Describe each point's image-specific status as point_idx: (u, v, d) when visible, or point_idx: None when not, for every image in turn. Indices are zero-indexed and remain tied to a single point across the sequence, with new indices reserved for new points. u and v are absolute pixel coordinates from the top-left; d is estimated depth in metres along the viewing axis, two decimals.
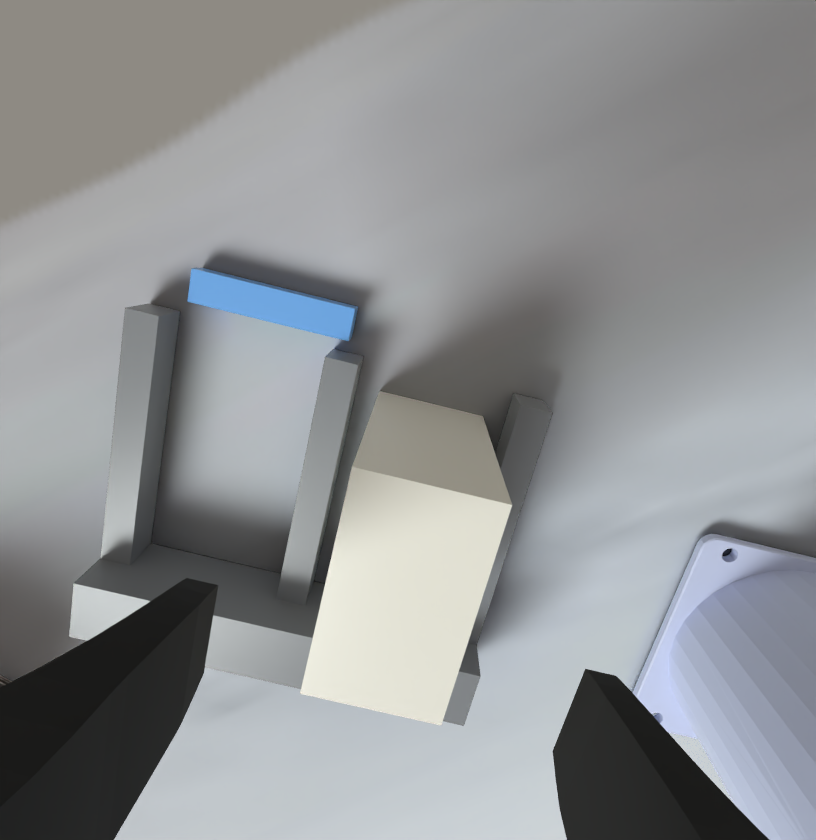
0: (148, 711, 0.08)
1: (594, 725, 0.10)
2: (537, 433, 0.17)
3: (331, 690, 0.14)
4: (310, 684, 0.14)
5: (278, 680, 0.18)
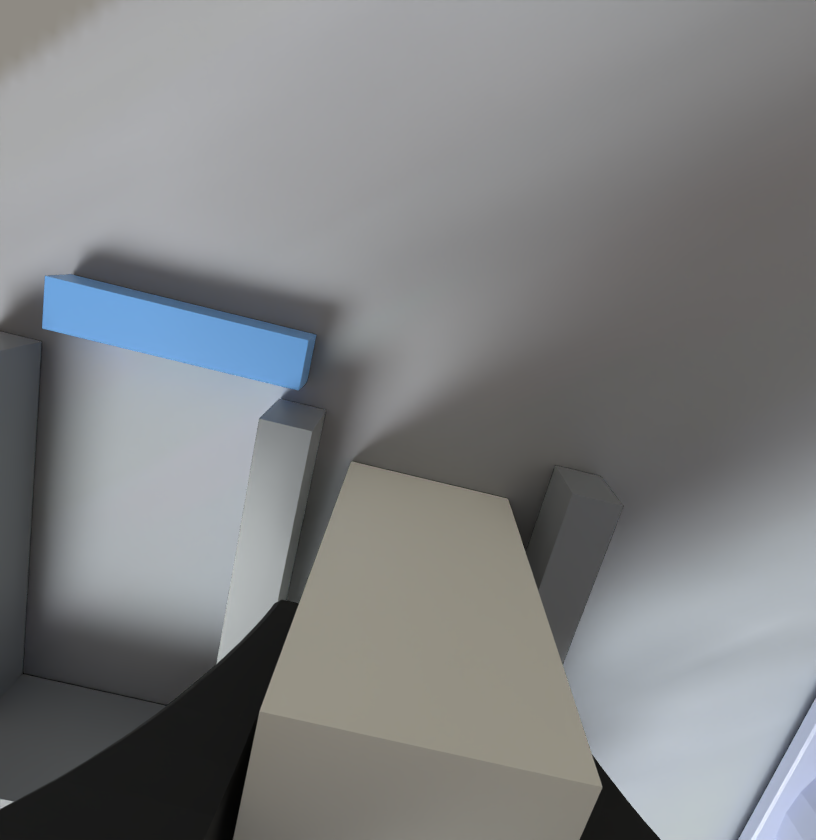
0: None
1: None
2: (598, 536, 0.11)
3: None
4: None
5: None
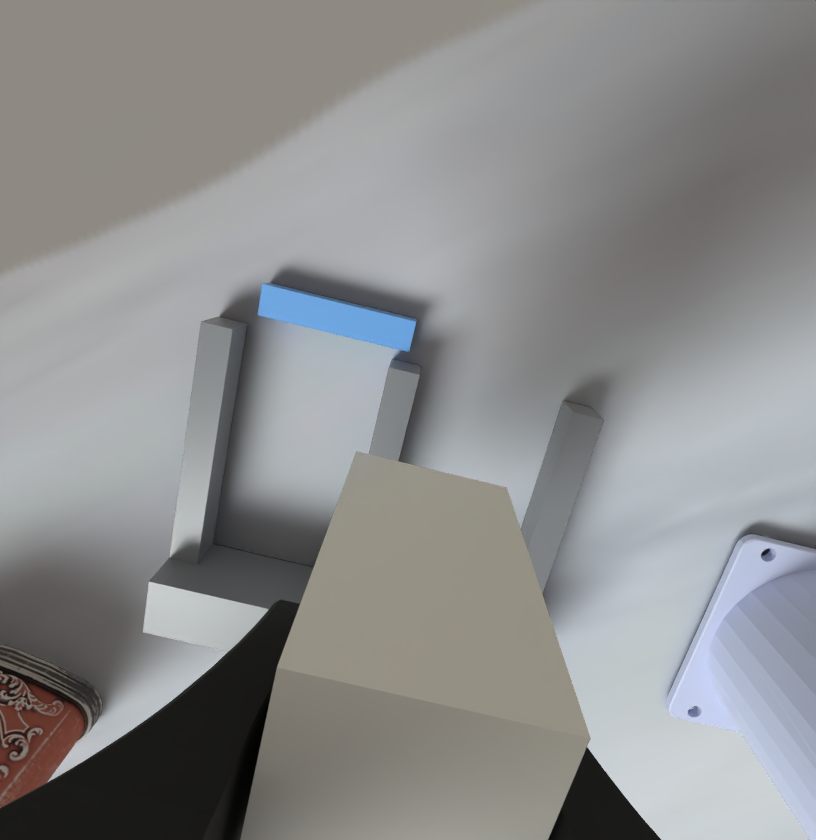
0: None
1: None
2: (589, 439, 0.18)
3: None
4: None
5: None
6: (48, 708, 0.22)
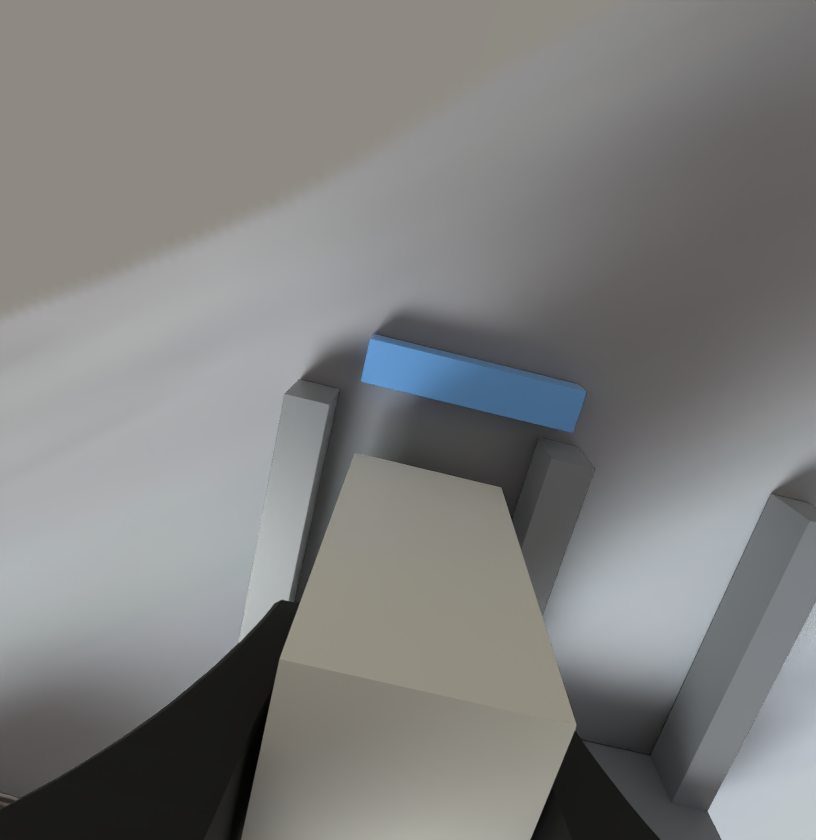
0: None
1: None
2: None
3: None
4: None
5: None
6: None
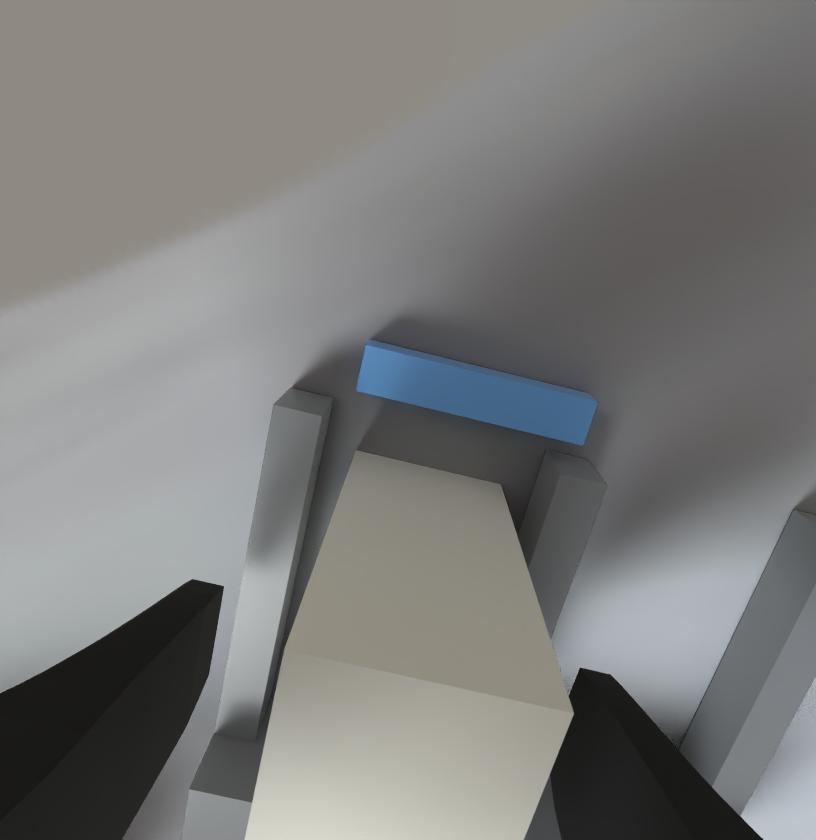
0: (155, 713, 0.08)
1: (588, 724, 0.10)
2: None
3: None
4: None
5: None
6: None
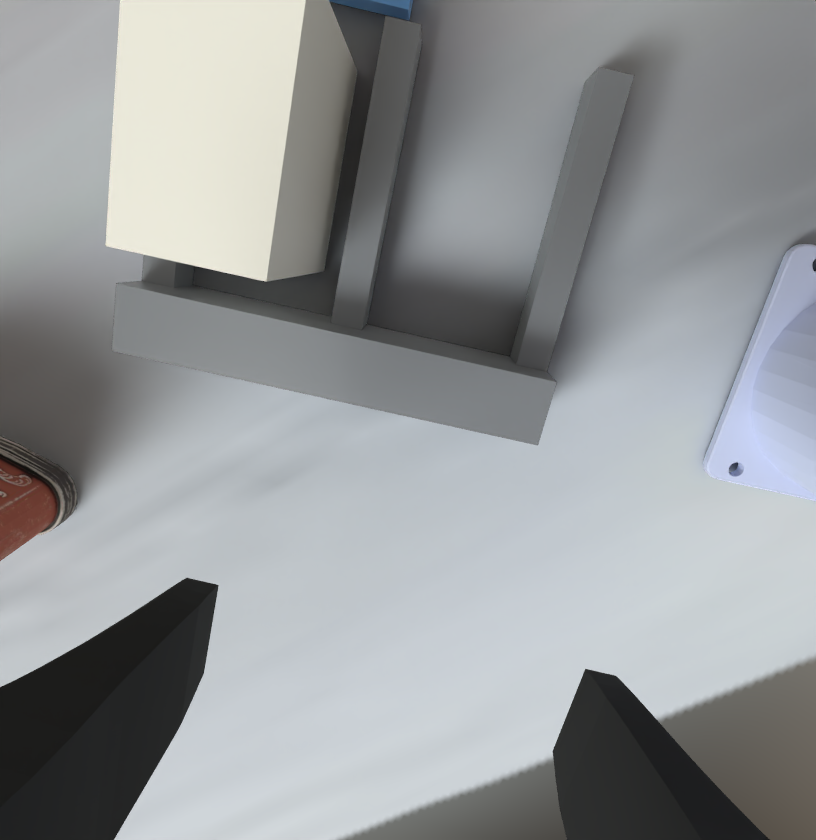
0: (148, 711, 0.08)
1: (594, 725, 0.10)
2: (617, 101, 0.16)
3: (139, 239, 0.12)
4: (114, 230, 0.12)
5: (337, 396, 0.17)
6: (14, 479, 0.20)
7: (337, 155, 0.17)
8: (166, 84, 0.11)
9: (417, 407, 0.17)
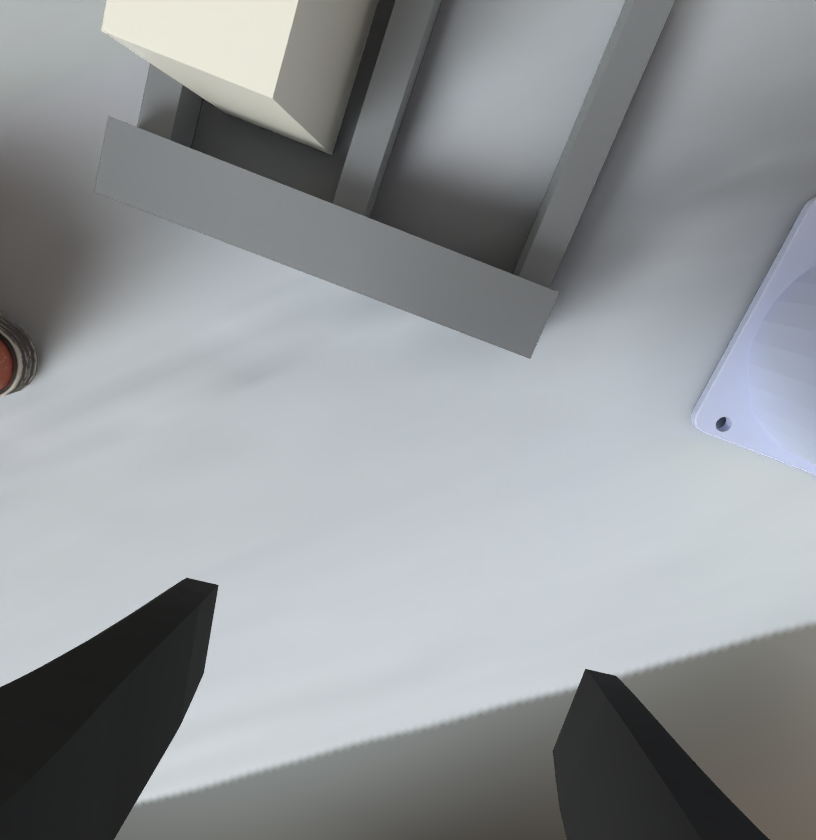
0: (149, 711, 0.08)
1: (594, 725, 0.10)
2: (662, 5, 0.15)
3: (140, 28, 0.11)
4: (113, 13, 0.11)
5: (329, 276, 0.16)
6: None
7: (363, 22, 0.16)
8: None
9: (411, 300, 0.16)
